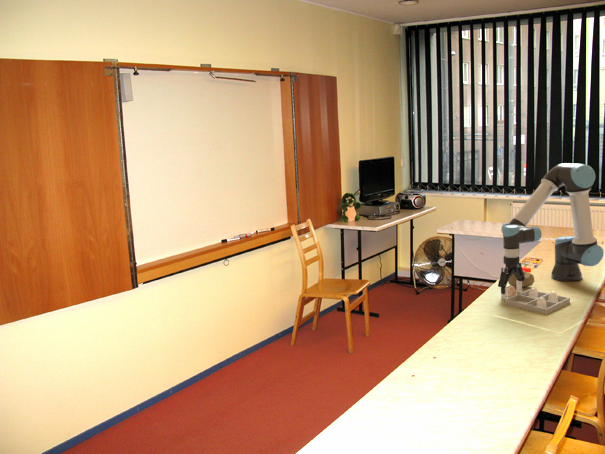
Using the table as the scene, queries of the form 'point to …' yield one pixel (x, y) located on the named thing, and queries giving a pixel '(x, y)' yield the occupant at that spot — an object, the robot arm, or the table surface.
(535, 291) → the white egg
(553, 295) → the white egg
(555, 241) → the robot arm
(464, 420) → the table surface
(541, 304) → the white egg
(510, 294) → the brown egg
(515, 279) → the low-poly potato
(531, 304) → the carton
